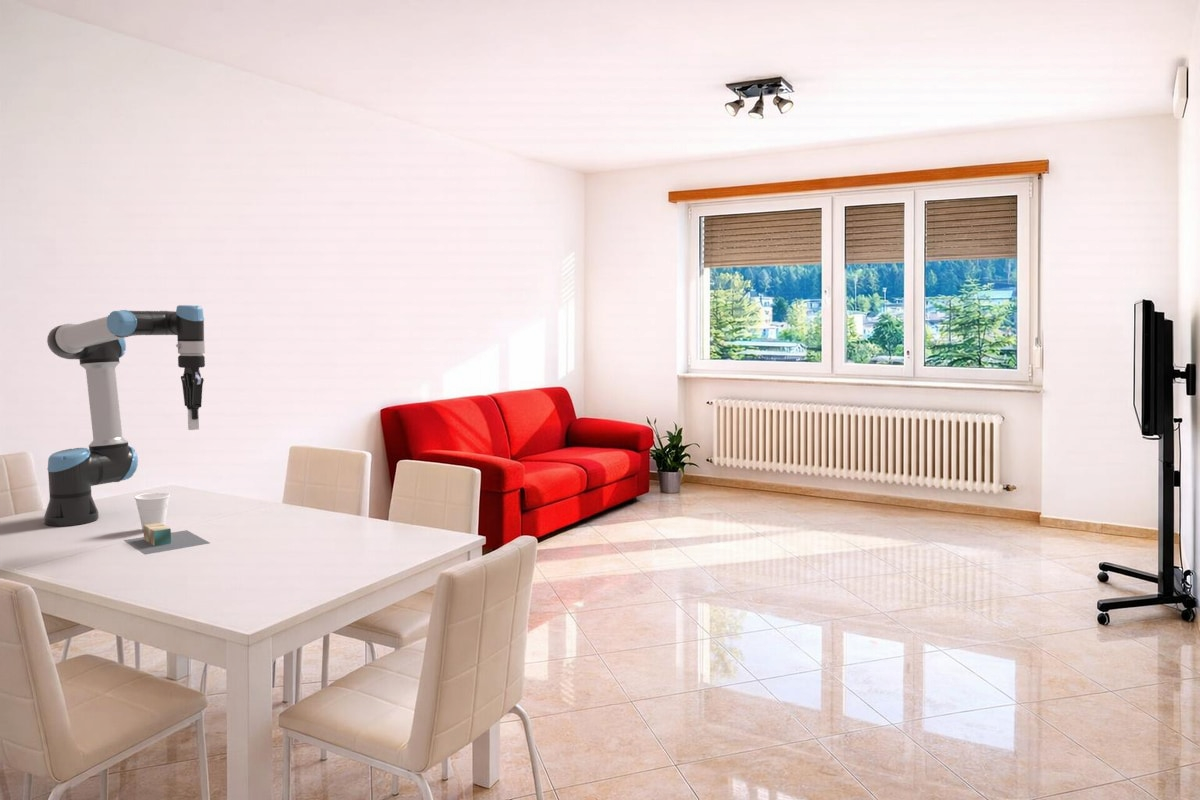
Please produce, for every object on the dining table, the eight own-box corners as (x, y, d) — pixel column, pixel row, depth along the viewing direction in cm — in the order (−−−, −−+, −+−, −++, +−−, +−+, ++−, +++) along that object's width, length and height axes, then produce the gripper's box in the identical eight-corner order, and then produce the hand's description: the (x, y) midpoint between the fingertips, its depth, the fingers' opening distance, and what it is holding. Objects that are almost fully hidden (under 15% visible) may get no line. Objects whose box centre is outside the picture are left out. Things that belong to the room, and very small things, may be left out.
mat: (123, 541, 251) (123, 540, 251) (186, 531, 264) (186, 530, 264) (145, 555, 237) (145, 554, 237) (210, 544, 250) (210, 543, 250)
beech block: (154, 546, 245) (143, 539, 252) (171, 543, 249) (159, 536, 256) (154, 531, 245) (143, 524, 252) (170, 528, 248) (159, 522, 255)
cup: (155, 534, 259) (154, 500, 258) (128, 532, 261) (126, 498, 260) (178, 526, 269) (176, 493, 268) (151, 524, 271) (150, 491, 270)
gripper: (171, 354, 262) (173, 428, 265) (186, 356, 253) (188, 432, 255) (196, 353, 267) (198, 426, 270) (211, 355, 258) (213, 430, 261)
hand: (193, 429), depth 263 cm, fingers closed
